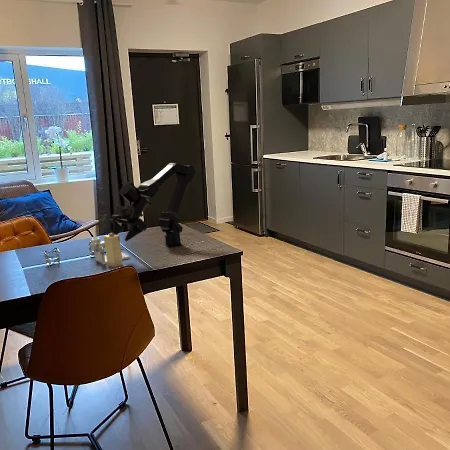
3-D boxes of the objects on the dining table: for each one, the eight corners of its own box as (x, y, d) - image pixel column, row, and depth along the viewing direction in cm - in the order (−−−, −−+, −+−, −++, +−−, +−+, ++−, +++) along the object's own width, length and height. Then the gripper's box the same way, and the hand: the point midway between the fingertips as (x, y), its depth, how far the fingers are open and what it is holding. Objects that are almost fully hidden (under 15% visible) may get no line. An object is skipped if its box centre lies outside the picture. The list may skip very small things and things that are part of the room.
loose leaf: (115, 262, 200) (111, 231, 197) (123, 264, 197) (119, 232, 194) (107, 265, 197) (103, 233, 194) (115, 267, 194) (111, 235, 191)
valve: (92, 254, 214) (119, 251, 217) (90, 240, 213) (117, 237, 216) (92, 251, 221) (119, 247, 223) (90, 237, 219) (117, 234, 222)
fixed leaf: (121, 254, 212) (119, 237, 211) (129, 258, 205) (127, 241, 203) (94, 260, 206) (92, 243, 204) (101, 264, 198) (99, 247, 197)
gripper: (111, 196, 203) (92, 226, 198) (139, 199, 191) (119, 231, 186) (127, 210, 211) (109, 240, 205) (155, 214, 199) (137, 246, 193)
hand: (118, 239), depth 197 cm, fingers open, 9 cm apart
